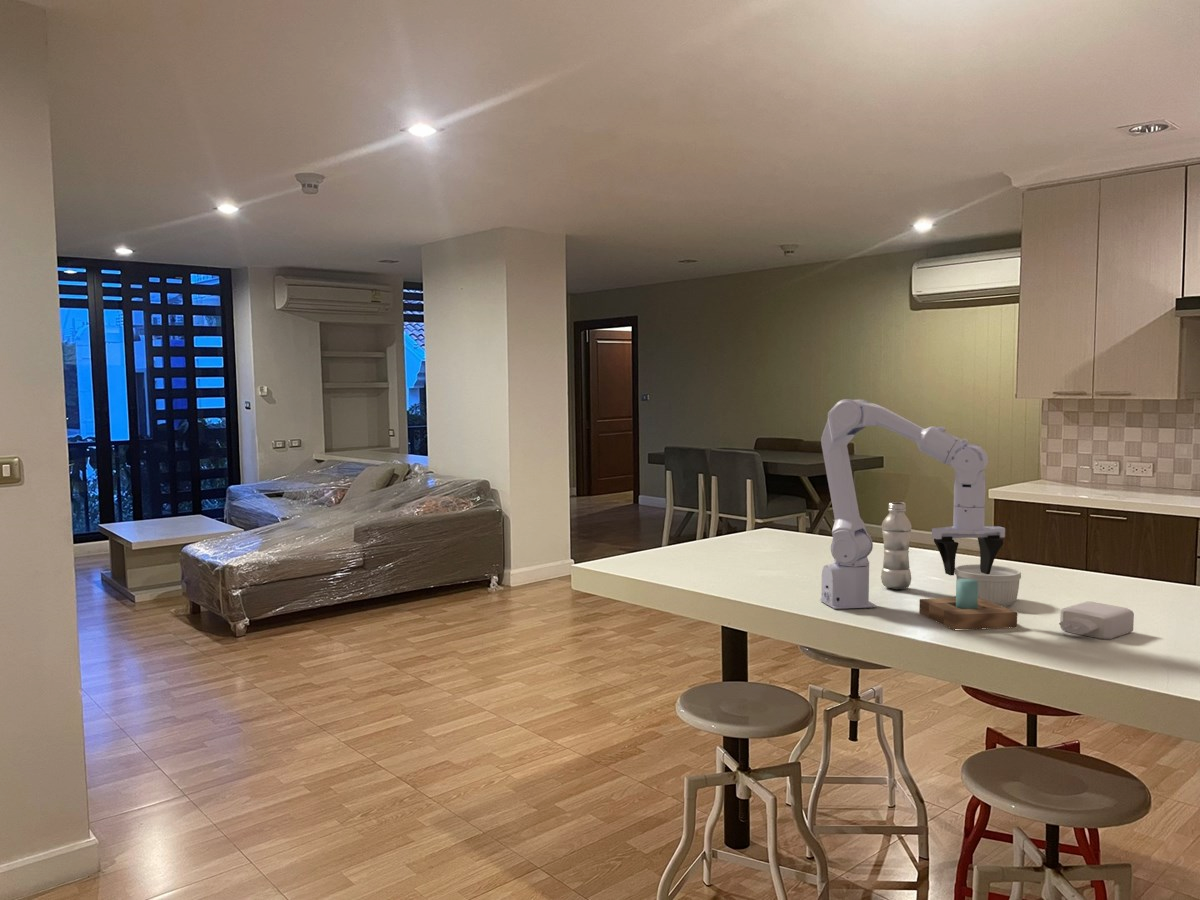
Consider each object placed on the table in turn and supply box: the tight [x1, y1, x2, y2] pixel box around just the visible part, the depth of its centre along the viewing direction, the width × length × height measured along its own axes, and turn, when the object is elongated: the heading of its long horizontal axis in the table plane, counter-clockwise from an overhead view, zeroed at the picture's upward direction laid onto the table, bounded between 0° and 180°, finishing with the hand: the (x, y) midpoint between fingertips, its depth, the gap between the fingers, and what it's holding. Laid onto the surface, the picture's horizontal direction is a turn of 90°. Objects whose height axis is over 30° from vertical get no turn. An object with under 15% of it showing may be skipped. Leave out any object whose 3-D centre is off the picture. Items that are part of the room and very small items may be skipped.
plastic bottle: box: [880, 501, 912, 590], centre depth 198 cm, size 6×7×20 cm
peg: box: [955, 578, 978, 609], centre depth 170 cm, size 4×4×8 cm
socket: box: [918, 597, 1018, 631], centre depth 170 cm, size 13×13×3 cm
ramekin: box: [954, 563, 1022, 607], centre depth 187 cm, size 13×13×7 cm
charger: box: [1058, 601, 1135, 641], centre depth 160 cm, size 5×9×15 cm
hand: (967, 573), depth 169 cm, fingers open, 7 cm apart
